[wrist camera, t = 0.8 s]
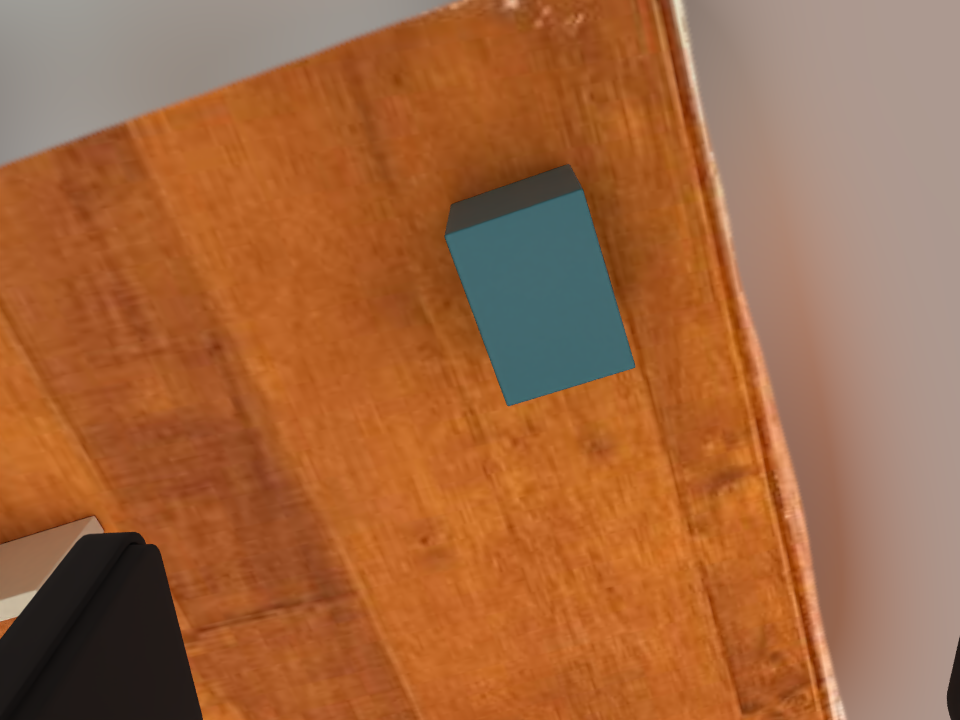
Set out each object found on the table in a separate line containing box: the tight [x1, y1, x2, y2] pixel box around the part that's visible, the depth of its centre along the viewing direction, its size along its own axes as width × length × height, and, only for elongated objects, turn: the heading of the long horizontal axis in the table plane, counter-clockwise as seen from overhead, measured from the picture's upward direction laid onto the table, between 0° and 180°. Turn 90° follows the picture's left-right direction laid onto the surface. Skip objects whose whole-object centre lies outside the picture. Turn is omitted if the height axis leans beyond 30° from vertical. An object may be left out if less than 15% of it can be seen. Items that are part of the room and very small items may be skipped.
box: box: [445, 164, 635, 406], centre depth 31 cm, size 5×7×5 cm
